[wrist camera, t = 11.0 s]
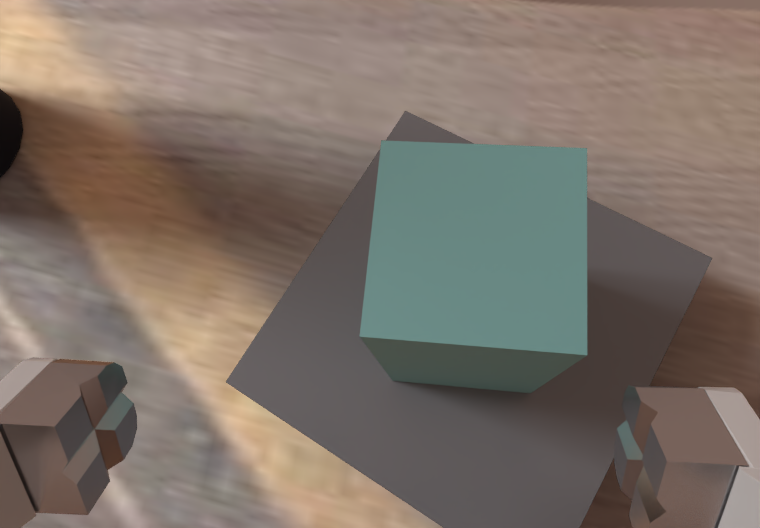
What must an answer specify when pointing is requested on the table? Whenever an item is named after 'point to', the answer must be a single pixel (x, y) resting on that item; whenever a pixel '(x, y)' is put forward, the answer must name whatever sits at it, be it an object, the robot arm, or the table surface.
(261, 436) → the table surface
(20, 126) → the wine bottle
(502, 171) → the teal block
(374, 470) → the plate
